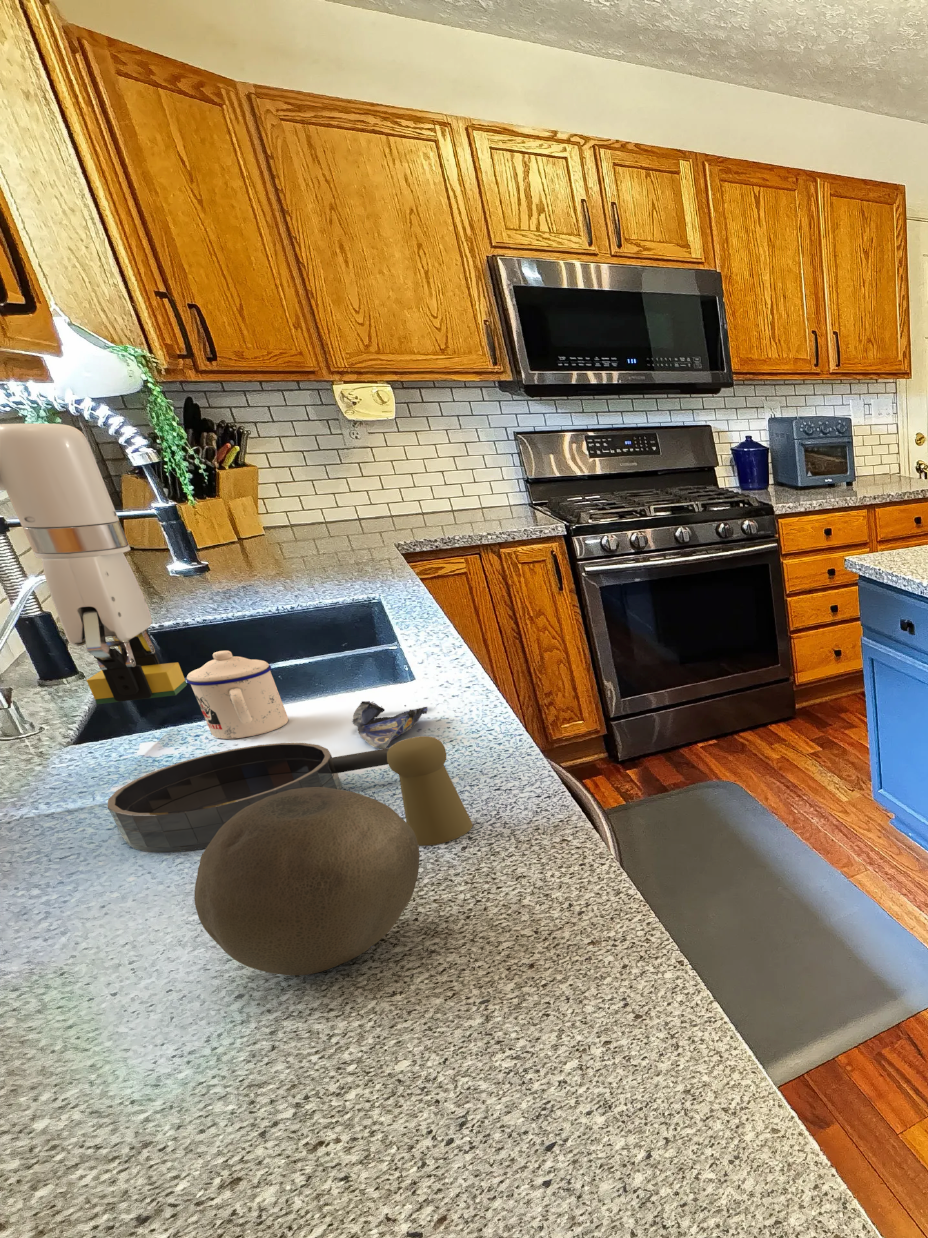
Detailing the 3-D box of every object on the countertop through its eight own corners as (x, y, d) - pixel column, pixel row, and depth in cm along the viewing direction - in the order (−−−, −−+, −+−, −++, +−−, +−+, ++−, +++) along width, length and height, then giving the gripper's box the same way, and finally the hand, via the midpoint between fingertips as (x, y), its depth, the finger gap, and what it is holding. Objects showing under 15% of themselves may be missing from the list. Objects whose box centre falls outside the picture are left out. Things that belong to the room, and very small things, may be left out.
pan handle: (327, 777, 96) (321, 762, 96) (329, 771, 98) (324, 756, 97) (444, 756, 102) (439, 742, 101) (445, 751, 103) (440, 737, 103)
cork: (464, 813, 93) (438, 725, 89) (479, 831, 89) (452, 740, 85) (403, 831, 89) (372, 741, 85) (415, 851, 85) (383, 757, 81)
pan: (95, 870, 82) (74, 832, 80) (159, 796, 98) (144, 762, 96) (327, 824, 91) (313, 789, 89) (353, 763, 106) (342, 732, 104)
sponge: (96, 704, 95) (86, 680, 94) (111, 693, 98) (101, 669, 97) (175, 695, 98) (166, 671, 97) (187, 684, 101) (178, 662, 100)
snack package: (318, 753, 110) (402, 750, 109) (307, 707, 108) (392, 704, 108) (384, 734, 121) (460, 731, 121) (375, 692, 120) (452, 689, 119)
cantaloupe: (311, 1028, 61) (237, 859, 55) (196, 986, 66) (116, 825, 60) (477, 923, 73) (431, 775, 67) (370, 894, 78) (318, 753, 72)
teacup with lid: (209, 727, 118) (177, 651, 113) (288, 712, 124) (260, 639, 119) (211, 751, 110) (176, 670, 105) (295, 734, 116) (266, 656, 111)
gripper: (65, 532, 96) (126, 678, 103) (-6, 554, 82) (70, 719, 89) (149, 529, 99) (203, 670, 106) (94, 549, 86) (160, 709, 93)
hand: (142, 691), depth 98 cm, fingers closed on sponge, 4 cm apart
